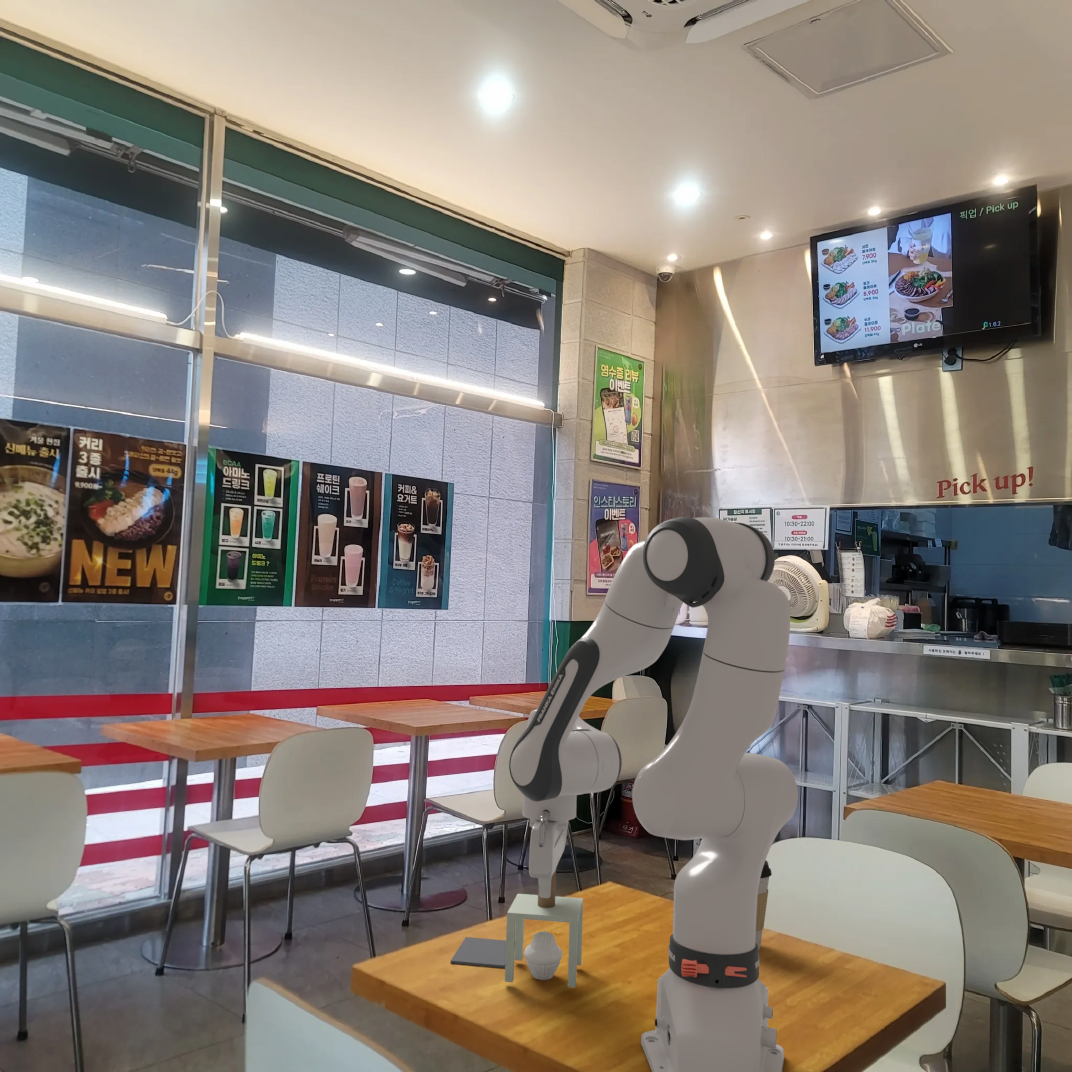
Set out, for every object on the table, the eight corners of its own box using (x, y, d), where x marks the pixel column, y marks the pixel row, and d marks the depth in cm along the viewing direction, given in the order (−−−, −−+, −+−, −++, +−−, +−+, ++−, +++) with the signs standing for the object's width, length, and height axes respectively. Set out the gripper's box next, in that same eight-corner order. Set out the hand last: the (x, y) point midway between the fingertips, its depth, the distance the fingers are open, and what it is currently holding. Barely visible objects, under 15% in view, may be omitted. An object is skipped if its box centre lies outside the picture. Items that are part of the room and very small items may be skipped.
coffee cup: (722, 933, 172) (724, 851, 173) (775, 943, 168) (776, 858, 169) (708, 948, 163) (710, 862, 165) (764, 959, 159) (765, 870, 160)
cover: (575, 987, 141) (578, 884, 142) (504, 981, 142) (508, 879, 144) (581, 962, 152) (583, 867, 153) (515, 957, 153) (518, 862, 155)
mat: (504, 968, 150) (504, 965, 150) (450, 963, 151) (450, 960, 151) (515, 943, 162) (515, 941, 162) (465, 939, 163) (465, 936, 163)
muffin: (554, 967, 151) (555, 923, 152) (567, 981, 145) (568, 935, 146) (518, 970, 149) (520, 926, 150) (530, 985, 143) (531, 938, 144)
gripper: (562, 818, 139) (559, 913, 138) (574, 796, 159) (571, 878, 158) (520, 816, 140) (517, 910, 138) (538, 794, 160) (535, 876, 159)
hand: (546, 893), depth 148 cm, fingers closed on cover, 3 cm apart
